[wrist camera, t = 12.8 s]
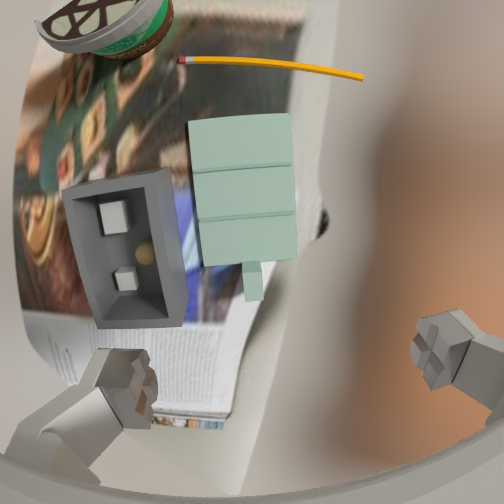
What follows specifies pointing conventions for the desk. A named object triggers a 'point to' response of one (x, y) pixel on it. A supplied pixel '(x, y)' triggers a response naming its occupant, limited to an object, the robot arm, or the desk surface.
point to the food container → (108, 27)
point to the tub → (129, 249)
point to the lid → (245, 192)
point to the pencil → (271, 65)
